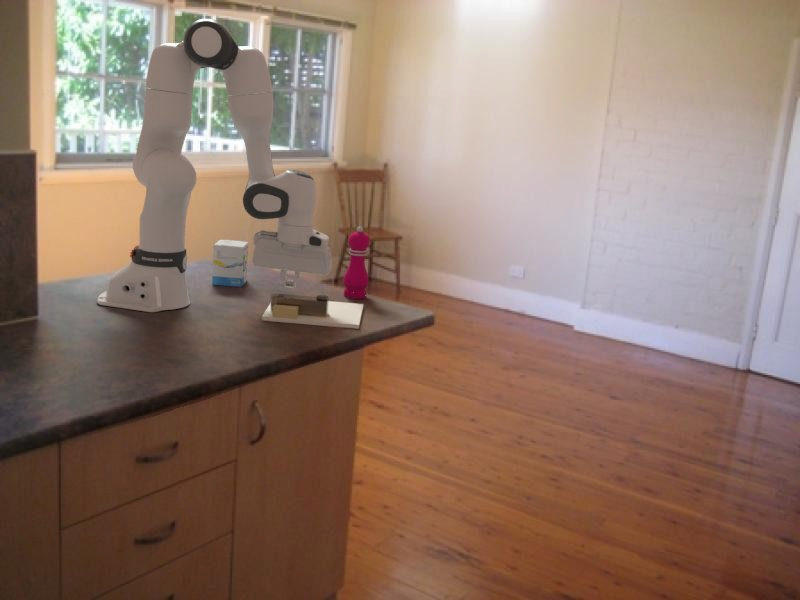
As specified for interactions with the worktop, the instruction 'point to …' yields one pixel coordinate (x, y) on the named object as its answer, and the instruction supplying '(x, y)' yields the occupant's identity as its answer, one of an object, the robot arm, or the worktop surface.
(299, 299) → the bar
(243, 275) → the ink box
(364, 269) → the pepper mill
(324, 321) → the latch board
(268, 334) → the worktop surface
